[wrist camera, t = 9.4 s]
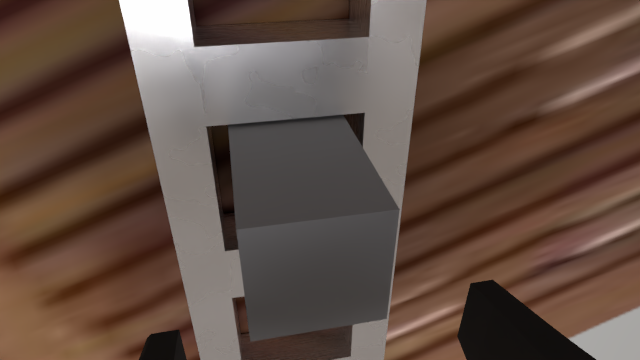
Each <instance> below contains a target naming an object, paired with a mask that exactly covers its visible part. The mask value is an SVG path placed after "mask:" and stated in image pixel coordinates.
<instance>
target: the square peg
mask: <svg viewBox="0 0 640 360" xmlns="http://www.w3.org/2000/svg"><path fill="white" fill-rule="evenodd" d="M228 132H229V144H230V157H231V170H232V183H233V196H234V209H235V221H236V233H237V240H238V248H239V256H240V264H241V272H242V280H243V288H244V295H245V303H246V311H247V319H248V327H249V335H250V342H252V341H258V340H264V339H270V338H276V337H282V336H288V335H294V334H300V333H306V332H312V331H318V330H324V329H330V328H336V327H342V326H348V325H354V324H360V323H365V322H371V321H377V320H383V319H387V313H388V304H389V296H390V287H391V278H392V270H393V261H394V253H395V244H396V236H397V227H398V219H399V210H400V209H399V207H398V206H397V204H396V202H395V201H394V199H393V197H392V196H391V194H390V192H389V191H388V189H387V187H386V186H385V184H384V182H383V181H382V179H381V177H380V176H379V174H378V172H377V171H376V169H375V167H374V166H373V164H372V162H371V161H370V159H369V157H368V156H367V154H366V152H365V151H364V149H363V147H362V146H361V144H360V142H359V141H358V139H357V137H356V135H355V134H354V132H353V130H352V129H351V127H350V125H349V124H348V122H347V120H346V119H345V117H344V115H333V116H321V117H310V118H298V119H287V120H275V121H264V122H252V123H241V124H229V125H228Z"/></svg>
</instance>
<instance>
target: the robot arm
mask: <svg viewBox="0 0 640 360" xmlns="http://www.w3.org/2000/svg"><path fill="white" fill-rule="evenodd" d="M458 339H459V341H460V344H461V347H462V349H463V352H464V354H465V357H466V359H467V360H596V359H595V358H593V357H592V356H591V355H589V354H588V353H586V352H585V351H584V350H582V349H581V348H579V347H578V346H577V345H576V344H574V343H573V342H571V341H570V340H569V339H568V338H566V337H565V336H564V335H562V334H561V333H560V332H558V331H557V330H556V329H554V328H553V327H552V326H551V325H549V324H548V323H547V322H545V321H544V320H543V319H542V318H540V317H539V316H538V315H537V314H535V313H534V312H533V311H532V310H530V309H529V308H528V307H526V306H525V305H524V304H523V303H521V302H520V301H519V300H518V299H516V298H515V297H514V296H513V295H511V294H510V293H509V292H508V291H506V290H505V289H504V288H503V287H501V286H500V285H499V284H497V283H496V282H495V281H493V280H488V281H482V282H476V283H471V284H470V288H469V292H468V296H467V300H466V304H465V308H464V312H463V316H462V320H461V324H460V328H459V332H458ZM139 360H187V359H186V356H185V352H184V348H183V344H182V340H181V336H180V332H179V330H174V331H167V332H161V333H155V334H151V335H150V336H149V337H148V338H147V340H146V343H145V345H144V348H143V351H142V353H141V356H140V358H139Z"/></svg>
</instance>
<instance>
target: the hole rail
mask: <svg viewBox="0 0 640 360" xmlns="http://www.w3.org/2000/svg"><path fill="white" fill-rule="evenodd" d="M426 1H427V0H350V5H349V19H334V20H314V21H294V22H274V23H254V24H234V25H214V26H196V20H195V14H194V7H193V0H119V2H120V6H121V10H122V15H123V19H124V24H125V28H126V32H127V37H128V41H129V46H130V50H131V55H132V59H133V63H134V68H135V72H136V77H137V81H138V85H139V90H140V94H141V99H142V103H143V108H144V112H145V116H146V121H147V125H148V130H149V134H150V138H151V143H152V147H153V152H154V156H155V161H156V165H157V169H158V174H159V178H160V183H161V187H162V191H163V196H164V200H165V205H166V209H167V214H168V218H169V222H170V227H171V231H172V236H173V240H174V244H175V249H176V253H177V258H178V262H179V267H180V271H181V275H182V280H183V284H184V289H185V293H186V297H187V302H188V306H189V311H190V315H191V320H192V324H193V328H194V333H195V337H196V342H197V346H198V350H199V355H200V359H201V360H384V352H385V344H386V335H387V327H388V319H389V310H390V302H391V294H392V285H393V277H394V268H395V260H396V252H397V243H398V235H399V227H400V218H401V210H402V202H403V193H404V185H405V176H406V168H407V160H408V151H409V143H410V135H411V126H412V118H413V110H414V101H415V93H416V84H417V76H418V68H419V59H420V51H421V43H422V34H423V26H424V18H425V9H426ZM344 114H346V120H347V122H348V124H349V125H350V127H351V129H352V130H353V132H354V134H355V135H356V137H357V139H358V141H359V142H360V144H361V146H362V147H363V149H364V151H365V152H366V154H367V156H368V157H369V159H370V161H371V162H372V164H373V166H374V167H375V169H376V171H377V172H378V174H379V176H380V177H381V179H382V181H383V182H384V184H385V186H386V187H387V189H388V191H389V192H390V194H391V196H392V197H393V199H394V201H395V202H396V204H397V206H398V207H399V209H400V210H399V219H398V227H397V236H396V244H395V253H394V261H393V270H392V278H391V287H390V296H389V304H388V313H387V319H383V320H377V321H371V322H365V323H360V324H354V325H348V326H342V327H336V328H330V329H324V330H318V331H312V332H306V333H300V334H294V335H288V336H282V337H276V338H270V339H264V340H258V341H252V342H250V335H249V333H246V334H241V333H240V326H239V319H238V313H237V306H236V299H235V297H242V296H245V295H244V288H243V280H242V272H241V264H240V256H239V248H238V240H237V233H236V221H235V213H226V214H223V208H222V201H221V194H220V187H219V180H218V173H217V167H216V160H215V153H214V146H213V139H212V132H211V126H218V125H229V124H241V123H252V122H264V121H275V120H287V119H298V118H310V117H321V116H333V115H344Z"/></svg>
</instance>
